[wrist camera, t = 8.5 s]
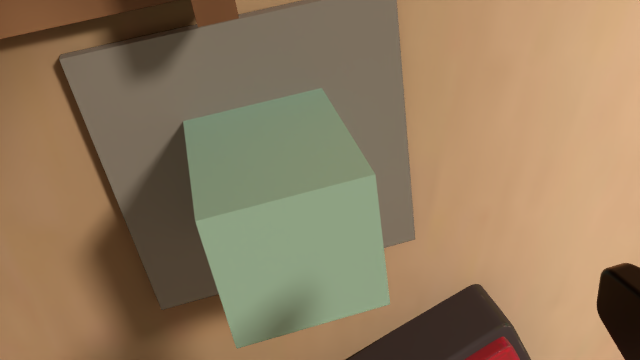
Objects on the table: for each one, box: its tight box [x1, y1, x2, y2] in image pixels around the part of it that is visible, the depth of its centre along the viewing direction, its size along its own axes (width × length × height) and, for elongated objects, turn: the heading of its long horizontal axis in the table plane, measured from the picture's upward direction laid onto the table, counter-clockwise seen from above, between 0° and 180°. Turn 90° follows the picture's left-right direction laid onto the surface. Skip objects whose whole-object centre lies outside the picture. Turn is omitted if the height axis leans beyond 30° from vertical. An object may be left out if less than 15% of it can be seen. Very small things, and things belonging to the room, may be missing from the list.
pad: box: [59, 0, 415, 310], centre depth 21 cm, size 10×10×1 cm
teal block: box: [183, 88, 390, 348], centre depth 18 cm, size 4×4×6 cm
